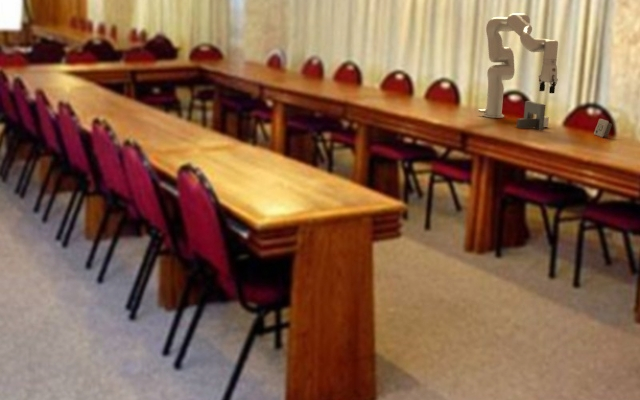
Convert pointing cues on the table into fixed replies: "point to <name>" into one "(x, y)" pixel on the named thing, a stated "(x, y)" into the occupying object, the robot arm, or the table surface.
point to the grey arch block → (535, 112)
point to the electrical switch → (602, 128)
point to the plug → (530, 122)
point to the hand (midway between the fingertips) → (546, 92)
